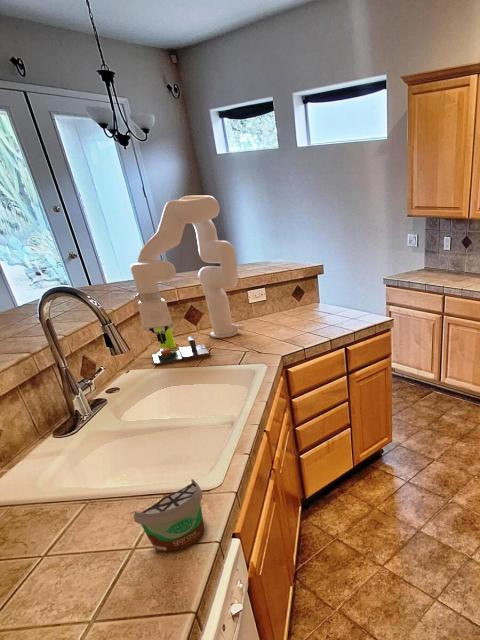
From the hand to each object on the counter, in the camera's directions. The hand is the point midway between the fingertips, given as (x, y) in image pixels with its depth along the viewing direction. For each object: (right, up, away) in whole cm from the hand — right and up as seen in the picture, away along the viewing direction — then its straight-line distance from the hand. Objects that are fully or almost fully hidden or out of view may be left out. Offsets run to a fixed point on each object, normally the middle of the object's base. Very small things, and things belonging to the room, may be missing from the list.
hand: (163, 342), depth 174 cm
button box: (0, -6, +3) cm, 7 cm away
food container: (+56, -55, -92) cm, 120 cm away
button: (0, -4, +2) cm, 5 cm away
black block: (+9, -2, +7) cm, 12 cm away
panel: (+9, -4, +8) cm, 13 cm away
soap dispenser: (-7, +1, +18) cm, 20 cm away
